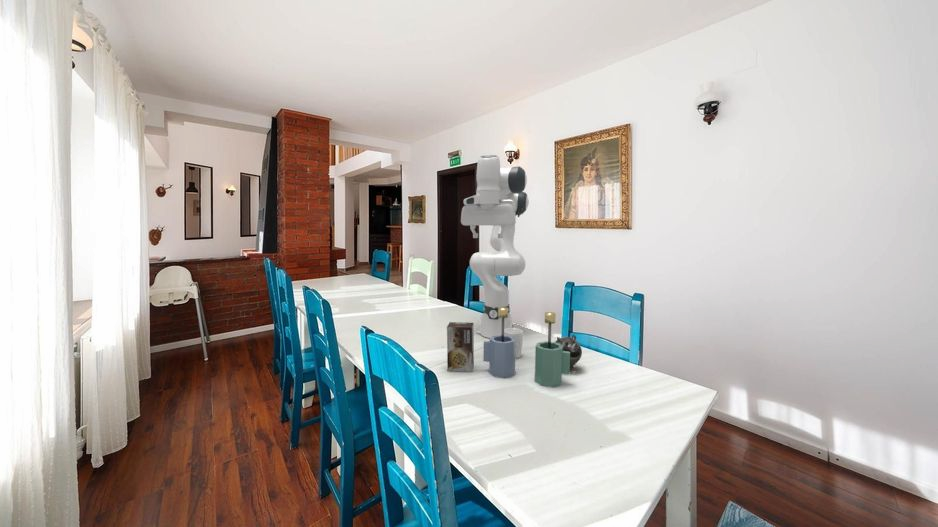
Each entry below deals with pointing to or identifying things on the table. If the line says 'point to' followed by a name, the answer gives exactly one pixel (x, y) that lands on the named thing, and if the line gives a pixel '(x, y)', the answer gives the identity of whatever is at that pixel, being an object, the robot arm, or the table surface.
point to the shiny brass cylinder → (550, 320)
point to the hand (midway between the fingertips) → (487, 238)
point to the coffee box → (460, 346)
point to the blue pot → (500, 356)
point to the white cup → (519, 339)
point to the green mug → (551, 364)
